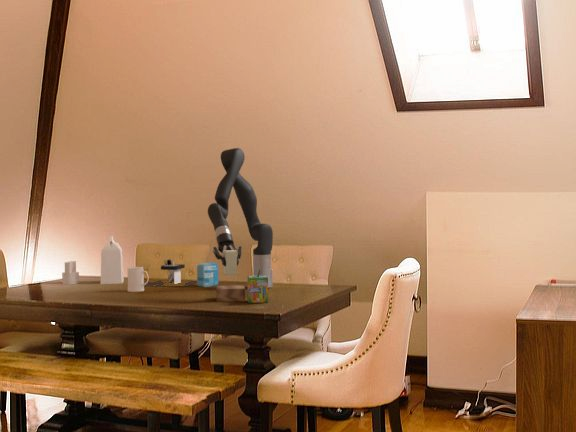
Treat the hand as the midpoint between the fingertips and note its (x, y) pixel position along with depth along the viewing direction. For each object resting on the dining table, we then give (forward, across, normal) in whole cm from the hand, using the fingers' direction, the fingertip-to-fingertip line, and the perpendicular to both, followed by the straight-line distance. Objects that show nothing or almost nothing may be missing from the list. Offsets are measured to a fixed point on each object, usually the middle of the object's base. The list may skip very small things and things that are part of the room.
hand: (231, 264), depth 370 cm
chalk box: (+20, +9, +4) cm, 22 cm away
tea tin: (+2, 0, +5) cm, 5 cm away
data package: (-31, +4, +54) cm, 62 cm away
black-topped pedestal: (-44, -11, +68) cm, 82 cm away
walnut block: (+10, 0, +13) cm, 17 cm away
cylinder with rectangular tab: (-64, -62, +88) cm, 125 cm away
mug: (-26, -34, +50) cm, 66 cm away
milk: (-59, -40, +83) cm, 109 cm away
